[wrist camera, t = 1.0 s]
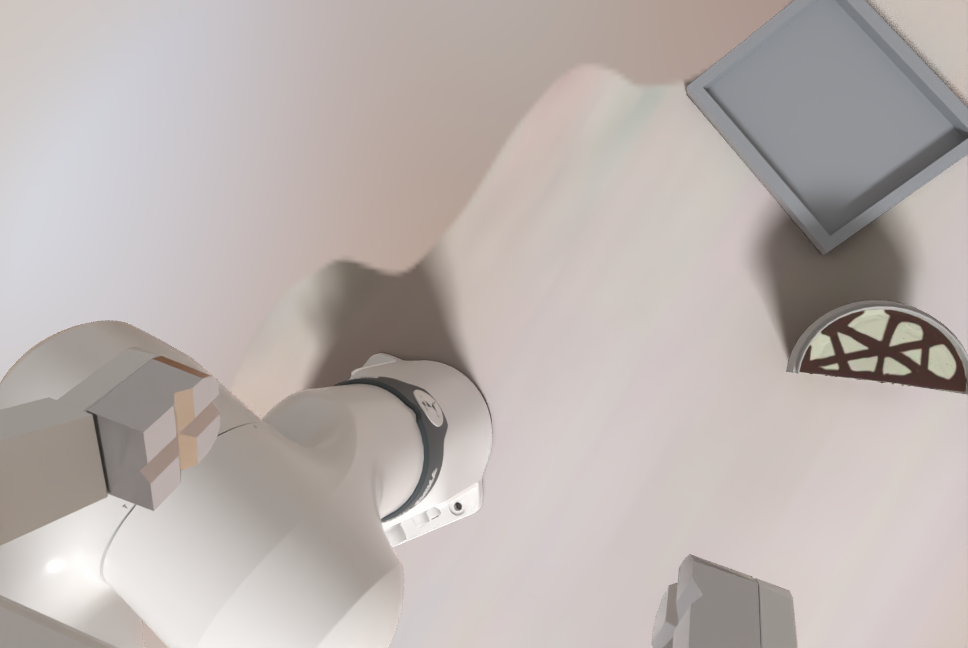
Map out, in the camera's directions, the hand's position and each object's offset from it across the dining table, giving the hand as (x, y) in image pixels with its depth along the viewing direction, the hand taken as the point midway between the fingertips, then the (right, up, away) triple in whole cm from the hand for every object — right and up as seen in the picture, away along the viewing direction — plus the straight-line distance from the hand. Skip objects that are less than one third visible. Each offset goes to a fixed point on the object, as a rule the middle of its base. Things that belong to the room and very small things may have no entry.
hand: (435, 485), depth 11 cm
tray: (+31, +21, +48) cm, 61 cm away
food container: (+33, +1, +47) cm, 58 cm away
